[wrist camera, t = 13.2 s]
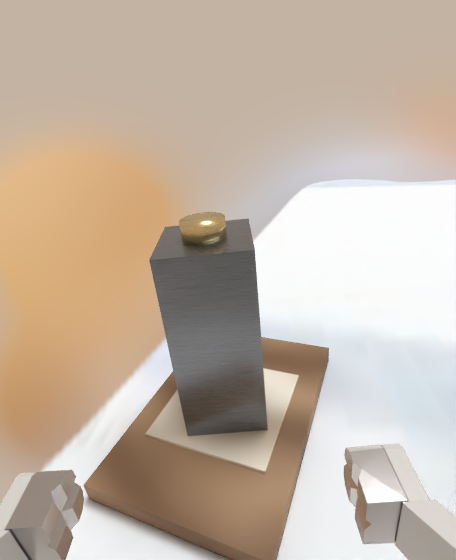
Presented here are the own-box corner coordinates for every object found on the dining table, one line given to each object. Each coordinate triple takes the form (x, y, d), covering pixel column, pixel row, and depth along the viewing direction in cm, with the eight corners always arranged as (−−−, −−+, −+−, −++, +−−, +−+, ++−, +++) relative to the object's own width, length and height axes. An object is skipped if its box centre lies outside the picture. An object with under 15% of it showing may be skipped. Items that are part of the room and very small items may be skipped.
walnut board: (208, 339, 34) (206, 326, 33) (328, 359, 29) (328, 346, 29) (89, 498, 21) (82, 483, 20) (271, 577, 16) (270, 560, 16)
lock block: (260, 374, 27) (247, 201, 21) (267, 430, 22) (253, 229, 16) (193, 380, 27) (162, 210, 21) (187, 436, 22) (145, 240, 17)
